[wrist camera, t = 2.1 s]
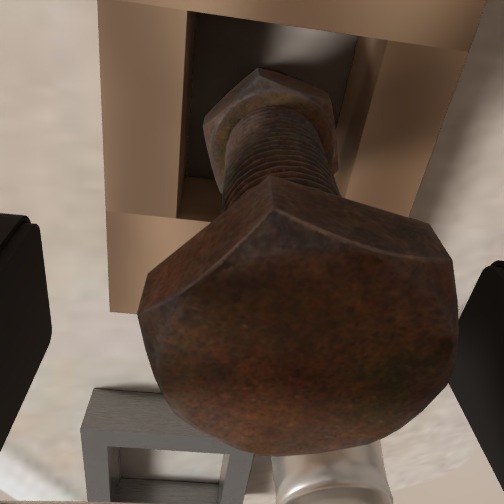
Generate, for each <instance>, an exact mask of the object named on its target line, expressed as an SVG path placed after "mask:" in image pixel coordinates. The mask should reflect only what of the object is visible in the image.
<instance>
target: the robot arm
mask: <svg viewBox="0 0 504 504" xmlns="http://www.w3.org/2000/svg"><path fill="white" fill-rule="evenodd" d="M458 322H459V334H458V347H457V356H456V364H455V368H454V373H453V375H452V377H451V379H450V380H449V382H448V383H449V385H450V387H451V389H452V391H453V393H454V395H455V397H456V399H457V401H458V403H459V404H460V406H461V408H462V410H463V412H464V414H465V416H466V418H467V420H468V422H469V424H470V426H471V428H472V430H473V432H474V434H475V436H476V438H477V440H478V442H479V444H480V446H481V448H482V450H483V452H484V454H485V455H486V457H487V459H488V461H489V463H490V465H491V467H492V469H493V471H494V473H495V475H496V477H497V479H498V481H499V483H500V485H501V487H502V489H503V491H504V261H499V260H498V261H495V262H494V263H492V264H491V266H488V267H486V268H485V269H484V270H483V271H482V273H481V275H480V277H479V279H478V281H477V283H476V285H475V287H474V289H473V291H472V294H471V296H470V298H469V300H468V302H467V304H466V306H465V308H464V310H463V312H462V314H461V316H460V318H459V320H458ZM51 334H52V325H51V316H50V308H49V300H48V292H47V283H46V275H45V267H44V259H43V251H42V242H41V234H40V228H39V226H38V225H37V224H31V222H30V220H29V218H28V217H27V216H24V215H13V214H3V213H0V451H1V449H2V447H3V445H4V443H5V440H6V438H7V436H8V434H9V432H10V429H11V427H12V425H13V423H14V421H15V418H16V416H17V414H18V412H19V410H20V407H21V405H22V403H23V401H24V399H25V396H26V394H27V392H28V390H29V388H30V385H31V383H32V381H33V379H34V377H35V374H36V372H37V370H38V368H39V366H40V363H41V361H42V359H43V357H44V355H45V352H46V350H47V348H48V346H49V343H50V340H51ZM0 504H156V503H118V502H73V501H0Z"/></svg>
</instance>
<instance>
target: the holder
mask: <svg viewBox="0 0 504 504" xmlns="http://www.w3.org/2000/svg"><path fill="white" fill-rule="evenodd" d="M80 432H81V441H82V451H83V460H84V470H85V479H86V489H87V499H88V502H118V503H156V504H243V500H244V495H245V491H246V487H247V482H248V478H249V474H250V469H251V465H252V461H253V456H254V454H252V453H249V452H245V451H241V450H238V449H235V448H233V447H231V446H228V445H226V444H223V443H221V442H219V441H216V440H214V439H212V438H211V437H209V436H207V435H205V434H204V433H202V432H200V431H199V430H197V429H195V428H193V427H192V426H190V425H188V424H186V423H185V422H184V421H183V420H181V419H180V418H179V417H178V416H177V415H175V414H174V412H173V411H172V409H171V408H170V407H169V405H168V403H167V401H166V400H165V398H164V396H163V394H159V393H145V392H132V391H119V390H105V389H93V392H92V395H91V398H90V401H89V404H88V407H87V410H86V413H85V416H84V419H83V422H82V425H81V428H80ZM119 447H127V448H142V449H158V450H173V451H189V452H204V453H220V454H224V456H223V462H222V468H221V473H220V479H219V484H213V483H196V482H179V481H162V480H145V479H128V478H120V453H119Z"/></svg>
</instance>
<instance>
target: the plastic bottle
mask: <svg viewBox="0 0 504 504" xmlns="http://www.w3.org/2000/svg"><path fill="white" fill-rule="evenodd" d="M271 462H272V470H273V477H274V485H275V492H276V504H393V498H392V494H391V491H390V488H389V485H388V482H387V478H386V472H385V467H384V461H383V455H382V449H381V443H380V440H377V441H375V442H372V443H370V444H368V445H363V446H357V447H352V448H347V449H341V450H336V451H331V452H325V453H320V454H308V455H294V456H281V457H274V456H271Z"/></svg>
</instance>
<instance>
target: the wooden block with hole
mask: <svg viewBox="0 0 504 504" xmlns="http://www.w3.org/2000/svg"><path fill="white" fill-rule="evenodd" d="M97 3H98V28H99V53H100V78H101V103H102V128H103V152H104V177H105V202H106V227H107V252H108V277H109V302H110V312H118V313H129V314H137V311H138V307H139V304H140V300H141V296H142V293H143V289H144V285H145V282H146V278H147V274H148V273H149V272H150V271H151V270H152V269H154V268H155V267H156V266H157V265H159V264H160V263H161V262H162V261H164V260H165V259H166V258H167V257H169V256H170V255H171V254H172V253H174V252H175V251H176V250H177V249H179V248H180V247H181V246H182V245H184V244H185V243H186V242H187V241H189V240H190V239H191V238H192V237H194V236H195V235H196V234H197V233H198V232H200V231H201V230H202V229H203V228H205V227H206V226H207V225H208V224H210V223H211V222H212V221H213V220H215V219H216V218H217V217H218V216H220V215H221V206H222V193H220V191H219V188H218V186H217V183H216V180H211V179H203V178H194V177H186V168H187V152H188V136H189V120H190V105H191V89H192V73H193V57H194V42H195V26H196V12H201V13H208V14H215V15H221V16H228V17H235V18H242V19H248V20H255V21H262V22H269V23H275V24H282V25H289V26H296V27H302V28H309V29H316V30H323V31H329V32H336V33H343V34H350V35H356V36H358V40H357V44H356V49H355V53H354V57H353V61H352V65H351V69H350V74H349V78H348V82H347V86H346V90H345V94H344V99H343V103H342V107H341V111H340V115H339V119H338V124H337V128H336V138H337V149H338V168H339V170H338V171H337V172H336V173H335V174H334V178H335V181H336V184H337V187H338V189H339V193H340V195H341V196H342V197H343V198H346V199H350V200H353V201H356V202H359V203H363V204H366V205H369V206H372V207H376V208H379V209H382V210H385V211H389V212H392V213H395V214H398V215H402V216H405V217H409V214H410V211H411V208H412V206H413V203H414V200H415V197H416V195H417V192H418V189H419V186H420V184H421V181H422V178H423V175H424V173H425V170H426V167H427V164H428V162H429V159H430V156H431V153H432V151H433V148H434V145H435V142H436V140H437V137H438V134H439V132H440V129H441V126H442V123H443V121H444V118H445V115H446V112H447V110H448V107H449V104H450V101H451V99H452V96H453V93H454V90H455V88H456V85H457V82H458V79H459V77H460V74H461V71H462V68H463V66H464V63H465V60H466V57H467V55H468V52H469V49H470V46H471V44H472V41H473V38H474V36H475V33H476V30H477V27H478V25H479V22H480V19H481V16H482V14H483V11H484V8H485V5H486V3H487V0H97Z"/></svg>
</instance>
